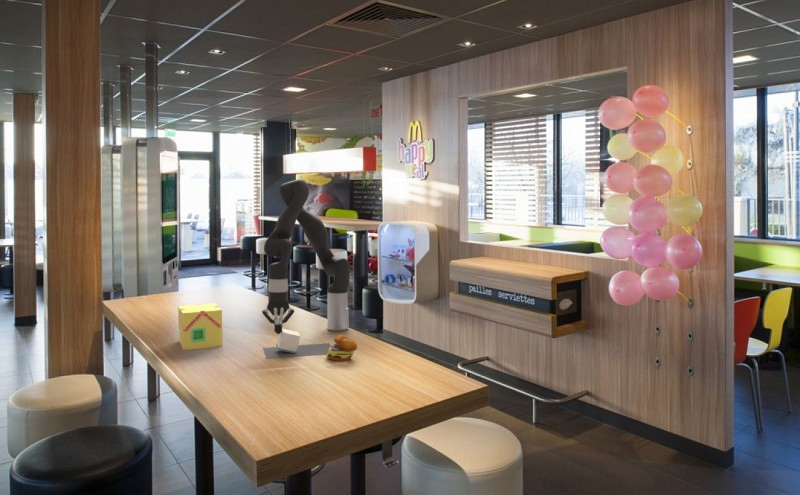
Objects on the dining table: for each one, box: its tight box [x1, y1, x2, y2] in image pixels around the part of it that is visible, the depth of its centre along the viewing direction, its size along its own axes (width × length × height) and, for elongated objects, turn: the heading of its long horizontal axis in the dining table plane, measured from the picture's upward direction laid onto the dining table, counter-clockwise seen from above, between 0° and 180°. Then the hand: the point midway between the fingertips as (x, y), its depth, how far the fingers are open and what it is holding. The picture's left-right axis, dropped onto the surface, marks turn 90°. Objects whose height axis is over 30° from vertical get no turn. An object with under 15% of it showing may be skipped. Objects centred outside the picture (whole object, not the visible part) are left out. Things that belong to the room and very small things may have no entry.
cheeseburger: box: [325, 334, 358, 362], centre depth 222 cm, size 10×11×10 cm
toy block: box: [177, 303, 224, 351], centre depth 241 cm, size 15×15×15 cm
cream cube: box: [275, 328, 301, 353], centre depth 230 cm, size 7×7×7 cm
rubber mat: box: [262, 342, 332, 360], centre depth 232 cm, size 27×16×1 cm, turn 108°
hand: (278, 333), depth 228 cm, fingers closed
